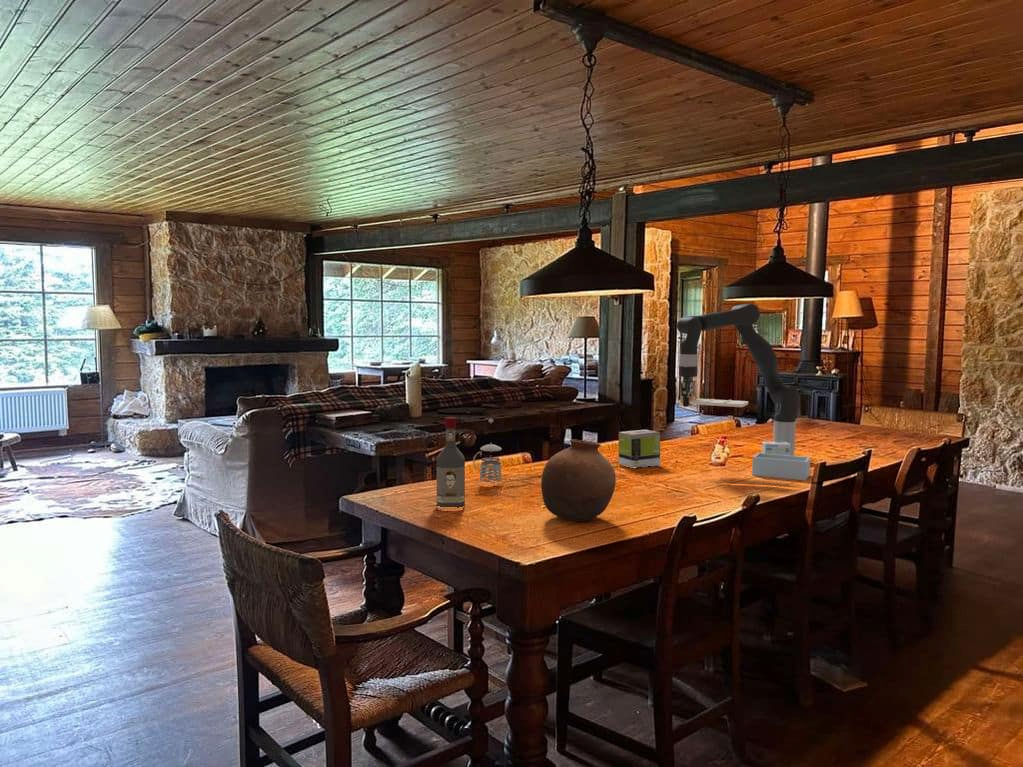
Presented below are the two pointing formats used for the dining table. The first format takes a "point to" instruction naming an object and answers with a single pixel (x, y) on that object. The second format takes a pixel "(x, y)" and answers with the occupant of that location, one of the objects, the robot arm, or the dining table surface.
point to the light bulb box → (776, 448)
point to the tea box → (639, 448)
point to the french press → (489, 461)
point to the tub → (781, 466)
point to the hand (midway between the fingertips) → (687, 405)
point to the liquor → (450, 471)
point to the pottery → (578, 482)
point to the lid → (715, 402)
